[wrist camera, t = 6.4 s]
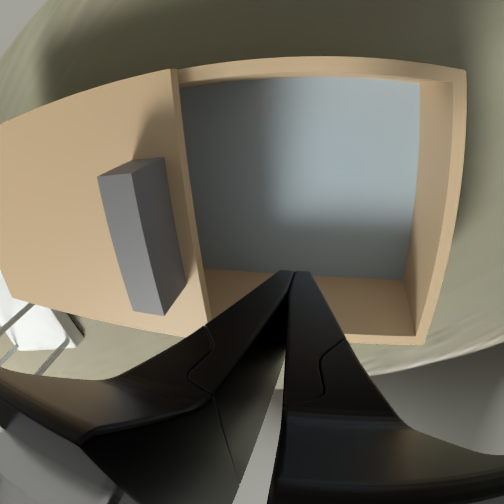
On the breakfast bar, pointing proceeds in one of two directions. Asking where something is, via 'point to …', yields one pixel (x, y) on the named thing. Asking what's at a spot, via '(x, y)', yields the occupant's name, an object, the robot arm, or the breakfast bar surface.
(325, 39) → the breakfast bar surface
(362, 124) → the box
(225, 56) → the breakfast bar surface
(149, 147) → the lid
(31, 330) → the file sorter
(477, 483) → the robot arm
